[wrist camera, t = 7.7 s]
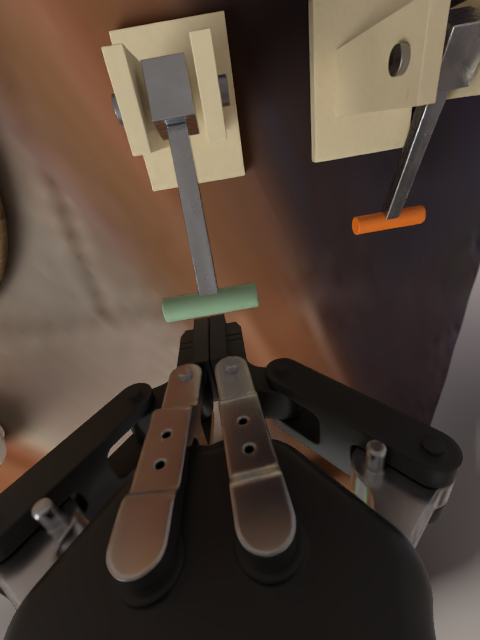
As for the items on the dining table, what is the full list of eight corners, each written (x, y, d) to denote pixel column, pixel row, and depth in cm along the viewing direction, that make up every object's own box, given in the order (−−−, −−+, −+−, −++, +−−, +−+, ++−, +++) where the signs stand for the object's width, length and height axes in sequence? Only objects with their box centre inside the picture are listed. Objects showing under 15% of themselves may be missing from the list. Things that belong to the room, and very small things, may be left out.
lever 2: (411, 212, 27) (424, 230, 26) (348, 223, 27) (358, 242, 26) (502, -1, 16) (534, 11, 15) (397, 18, 16) (419, 31, 15)
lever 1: (257, 304, 20) (260, 308, 17) (171, 319, 20) (163, 325, 17) (219, 75, 17) (217, 45, 15) (123, 92, 17) (106, 65, 15)
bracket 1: (243, 173, 29) (266, 200, 18) (155, 189, 29) (121, 225, 18) (223, 15, 23) (238, -94, 12) (112, 35, 23) (23, -56, 12)
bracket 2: (400, 146, 29) (523, 154, 18) (311, 161, 29) (378, 180, 18) (418, -19, 23) (617, -162, 12) (307, 0, 23) (402, -123, 12)
